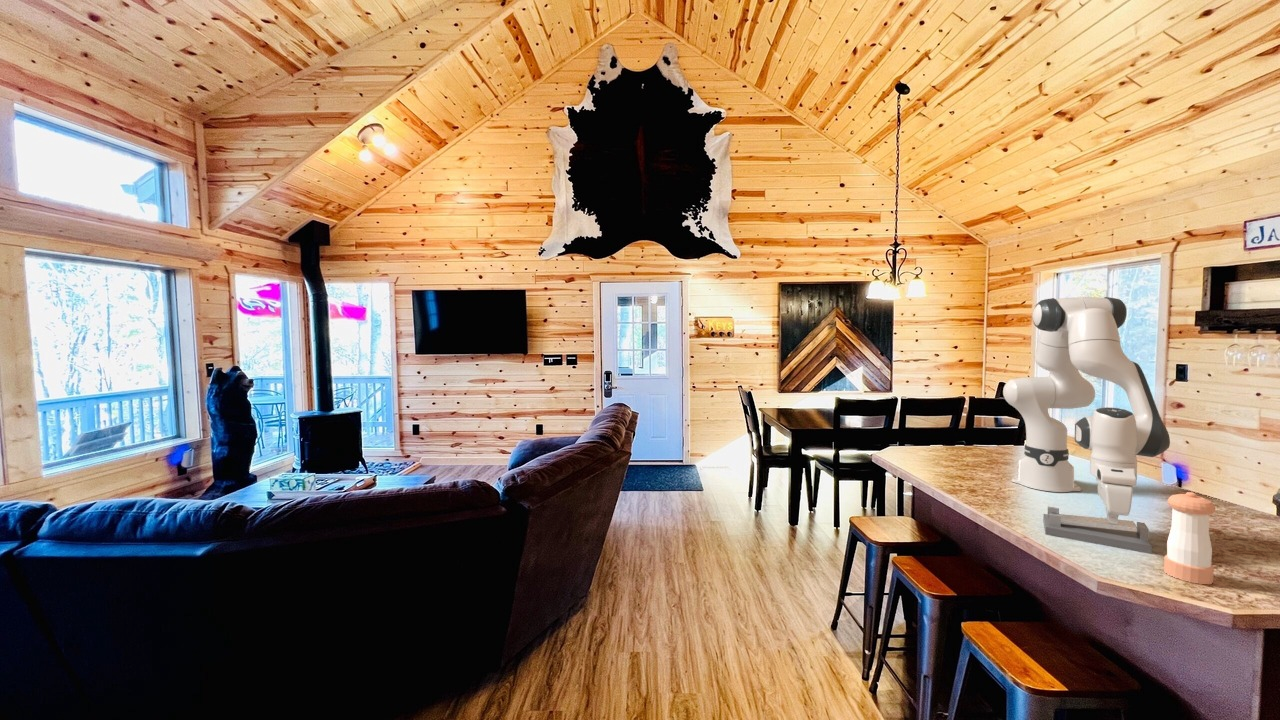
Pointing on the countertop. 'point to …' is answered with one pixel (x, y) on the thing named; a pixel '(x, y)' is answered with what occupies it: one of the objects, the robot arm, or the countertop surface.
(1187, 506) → the pepper shaker
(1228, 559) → the countertop surface
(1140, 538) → the clamp board
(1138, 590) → the countertop surface
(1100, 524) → the clamp lever
